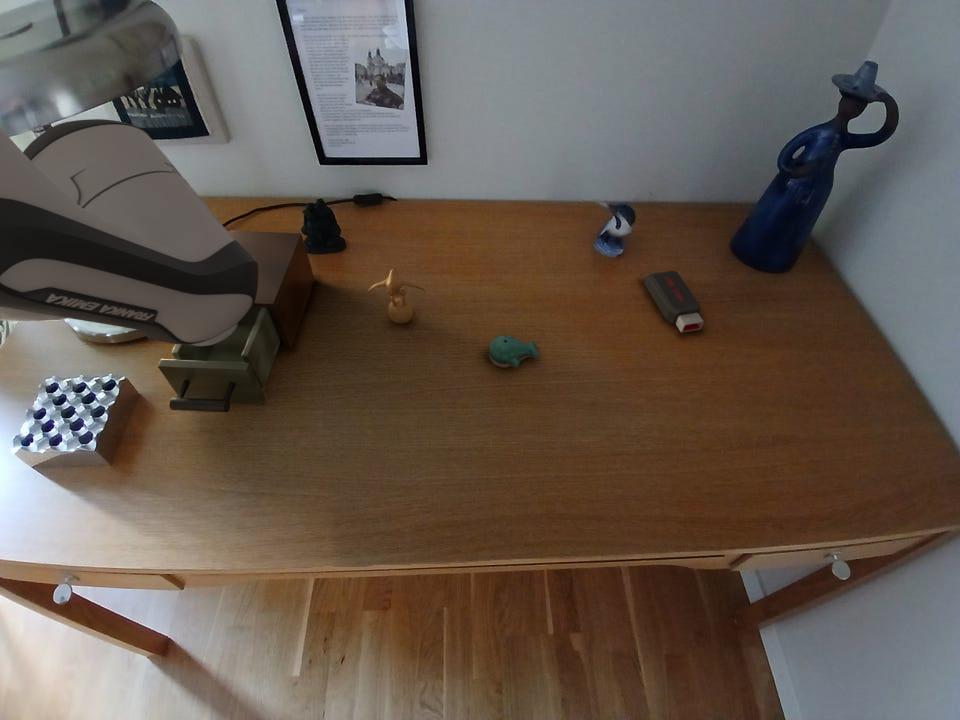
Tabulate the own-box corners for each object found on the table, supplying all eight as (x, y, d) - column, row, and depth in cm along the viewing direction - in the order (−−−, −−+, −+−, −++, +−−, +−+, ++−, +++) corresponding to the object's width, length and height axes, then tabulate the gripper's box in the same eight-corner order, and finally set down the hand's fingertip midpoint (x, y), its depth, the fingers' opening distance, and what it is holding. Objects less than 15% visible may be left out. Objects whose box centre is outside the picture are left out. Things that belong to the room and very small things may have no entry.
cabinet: (290, 349, 84) (273, 303, 76) (208, 346, 84) (182, 300, 77) (314, 279, 94) (301, 233, 86) (240, 276, 94) (221, 230, 87)
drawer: (254, 432, 73) (235, 398, 67) (169, 429, 74) (142, 394, 68) (291, 327, 85) (277, 290, 79) (218, 324, 86) (198, 287, 80)
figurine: (428, 309, 89) (423, 251, 80) (428, 337, 86) (422, 279, 76) (376, 311, 89) (365, 252, 80) (373, 339, 85) (361, 280, 76)
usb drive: (672, 278, 95) (676, 266, 93) (705, 329, 87) (711, 317, 85) (643, 283, 94) (647, 270, 92) (674, 334, 87) (679, 322, 84)
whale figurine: (486, 343, 85) (487, 326, 82) (534, 341, 85) (536, 324, 82) (490, 373, 81) (491, 357, 78) (540, 370, 82) (542, 353, 79)
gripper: (216, 242, 52) (273, 256, 66) (2, 235, 53) (103, 250, 66) (217, 309, 53) (273, 309, 67) (5, 302, 53) (105, 303, 67)
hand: (187, 279), depth 66 cm, fingers closed on pill bottle, 7 cm apart
